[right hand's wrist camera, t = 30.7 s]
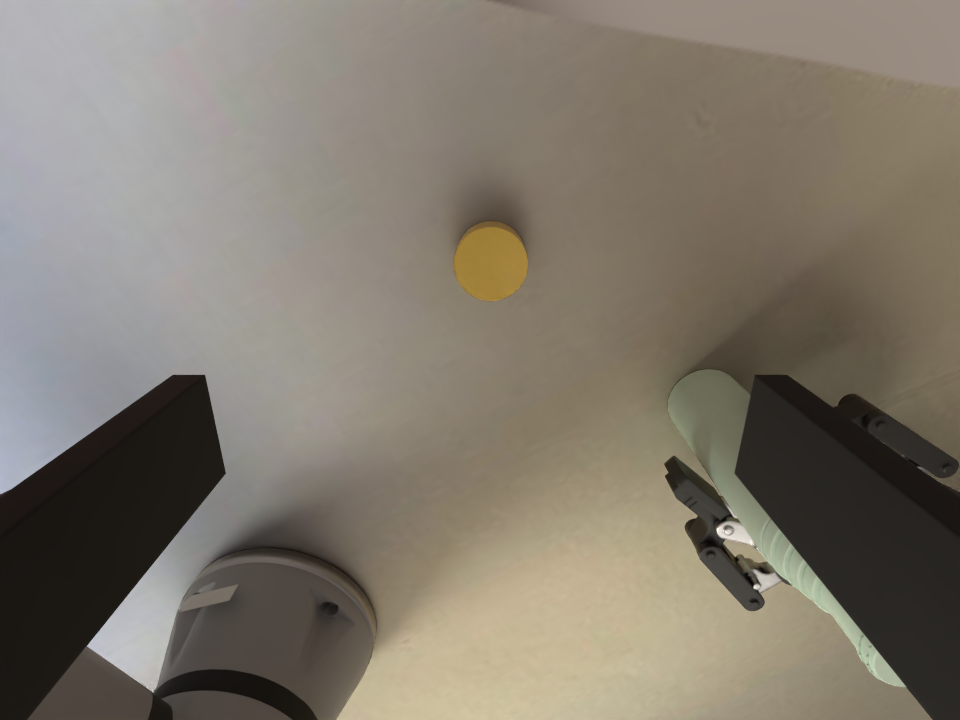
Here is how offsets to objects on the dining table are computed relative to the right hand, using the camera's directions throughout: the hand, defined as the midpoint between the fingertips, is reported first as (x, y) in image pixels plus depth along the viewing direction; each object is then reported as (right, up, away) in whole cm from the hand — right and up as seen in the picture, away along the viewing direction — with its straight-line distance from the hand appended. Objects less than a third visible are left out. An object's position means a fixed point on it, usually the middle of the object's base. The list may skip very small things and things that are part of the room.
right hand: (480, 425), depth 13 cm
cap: (+1, +7, +16) cm, 18 cm away
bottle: (+15, -1, +21) cm, 26 cm away
